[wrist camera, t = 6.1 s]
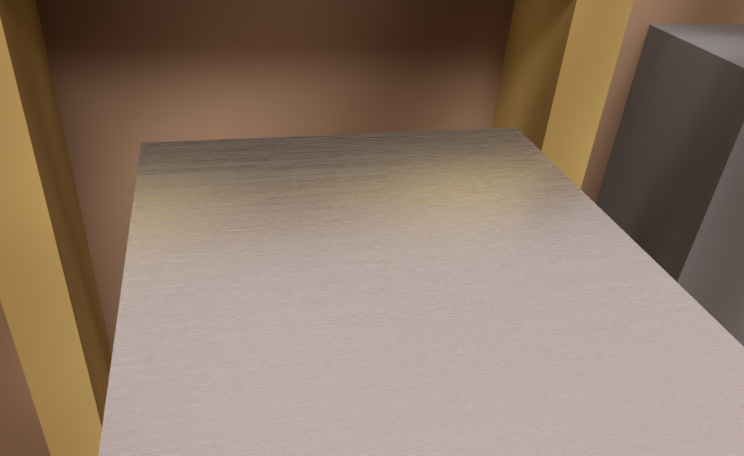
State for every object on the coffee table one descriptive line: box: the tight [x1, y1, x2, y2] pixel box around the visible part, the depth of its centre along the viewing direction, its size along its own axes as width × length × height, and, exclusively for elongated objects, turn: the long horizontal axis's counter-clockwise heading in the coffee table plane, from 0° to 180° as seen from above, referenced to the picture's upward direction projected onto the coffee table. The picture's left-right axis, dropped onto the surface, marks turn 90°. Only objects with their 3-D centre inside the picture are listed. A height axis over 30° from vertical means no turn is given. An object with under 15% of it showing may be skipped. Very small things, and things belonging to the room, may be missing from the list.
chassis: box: [0, 0, 744, 456], centre depth 13 cm, size 18×14×4 cm
